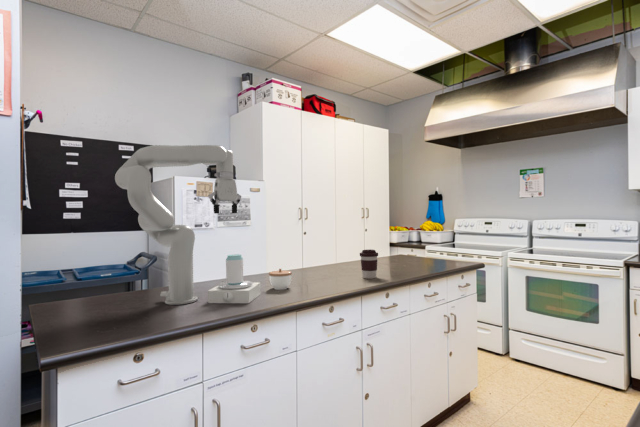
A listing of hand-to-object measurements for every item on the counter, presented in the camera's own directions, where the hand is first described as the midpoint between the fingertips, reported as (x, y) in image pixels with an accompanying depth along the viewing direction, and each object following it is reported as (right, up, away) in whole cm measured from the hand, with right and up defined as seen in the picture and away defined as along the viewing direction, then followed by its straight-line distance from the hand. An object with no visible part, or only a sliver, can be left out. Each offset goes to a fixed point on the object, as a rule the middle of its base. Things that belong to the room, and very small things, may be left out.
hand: (225, 213), depth 164 cm
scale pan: (+8, -31, -15) cm, 35 cm away
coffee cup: (+71, -35, +27) cm, 84 cm away
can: (+8, -30, -15) cm, 34 cm away
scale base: (+8, -36, -15) cm, 40 cm away
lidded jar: (+25, -36, +3) cm, 44 cm away
